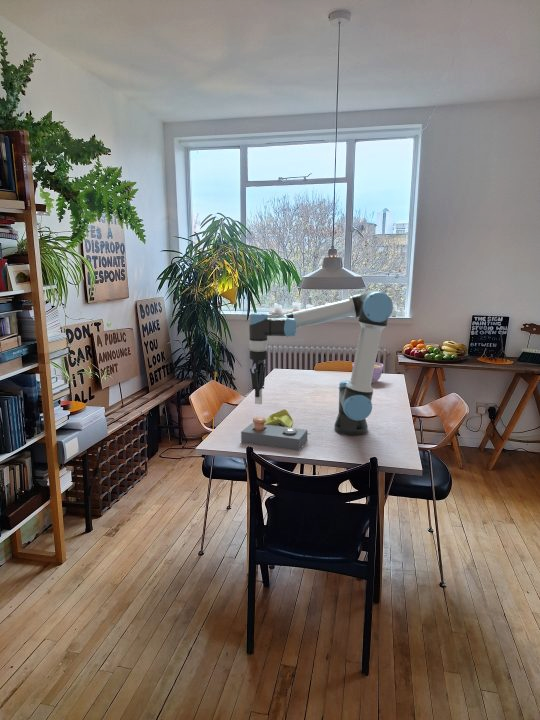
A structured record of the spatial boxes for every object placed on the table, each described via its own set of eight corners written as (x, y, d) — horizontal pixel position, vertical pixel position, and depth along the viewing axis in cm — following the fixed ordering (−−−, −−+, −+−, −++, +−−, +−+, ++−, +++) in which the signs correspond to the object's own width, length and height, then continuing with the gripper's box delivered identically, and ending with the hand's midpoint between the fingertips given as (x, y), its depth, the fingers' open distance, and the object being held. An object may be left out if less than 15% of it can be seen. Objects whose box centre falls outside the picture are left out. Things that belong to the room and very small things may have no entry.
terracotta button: (267, 430, 204) (267, 417, 202) (263, 434, 198) (262, 421, 197) (256, 429, 206) (255, 416, 204) (251, 433, 200) (250, 420, 199)
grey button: (298, 441, 199) (298, 428, 198) (294, 446, 194) (294, 432, 193) (285, 439, 201) (285, 426, 200) (281, 444, 196) (281, 431, 195)
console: (307, 440, 201) (307, 429, 200) (298, 450, 190) (299, 439, 189) (252, 433, 210) (252, 422, 209) (241, 442, 199) (241, 431, 198)
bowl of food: (388, 381, 303) (389, 364, 300) (373, 387, 288) (374, 369, 286) (361, 376, 316) (362, 360, 313) (345, 382, 301) (346, 364, 299)
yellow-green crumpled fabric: (269, 415, 229) (287, 407, 227) (275, 428, 229) (293, 421, 227) (261, 425, 209) (281, 417, 207) (268, 440, 210) (288, 432, 207)
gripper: (256, 346, 202) (256, 398, 207) (243, 351, 190) (244, 406, 195) (272, 347, 199) (271, 400, 204) (260, 353, 187) (260, 408, 192)
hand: (258, 403), depth 199 cm, fingers closed
